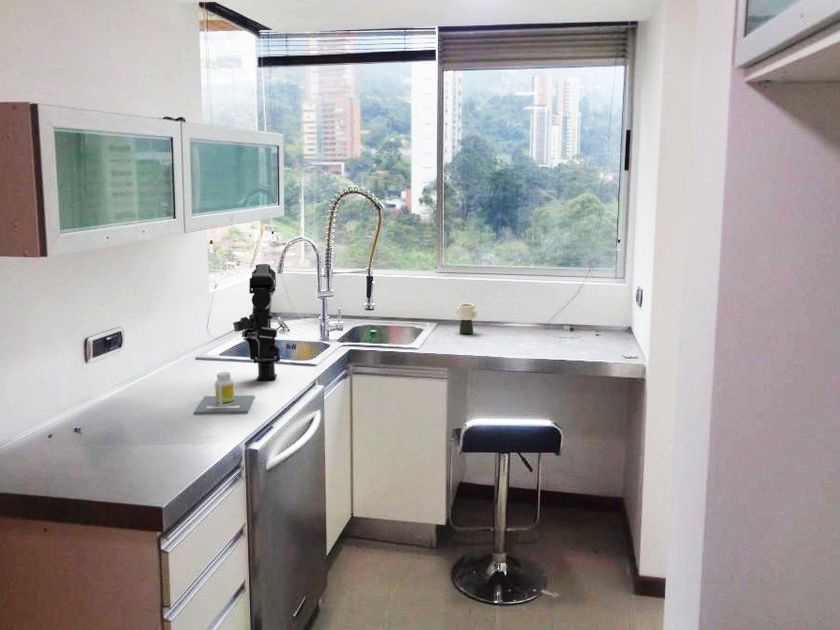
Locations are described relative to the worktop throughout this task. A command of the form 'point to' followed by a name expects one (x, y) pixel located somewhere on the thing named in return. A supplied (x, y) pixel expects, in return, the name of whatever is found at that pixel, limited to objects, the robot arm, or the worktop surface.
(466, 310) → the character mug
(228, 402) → the supplement bottle
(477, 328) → the worktop surface
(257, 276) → the robot arm
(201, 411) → the letter board
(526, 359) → the worktop surface
